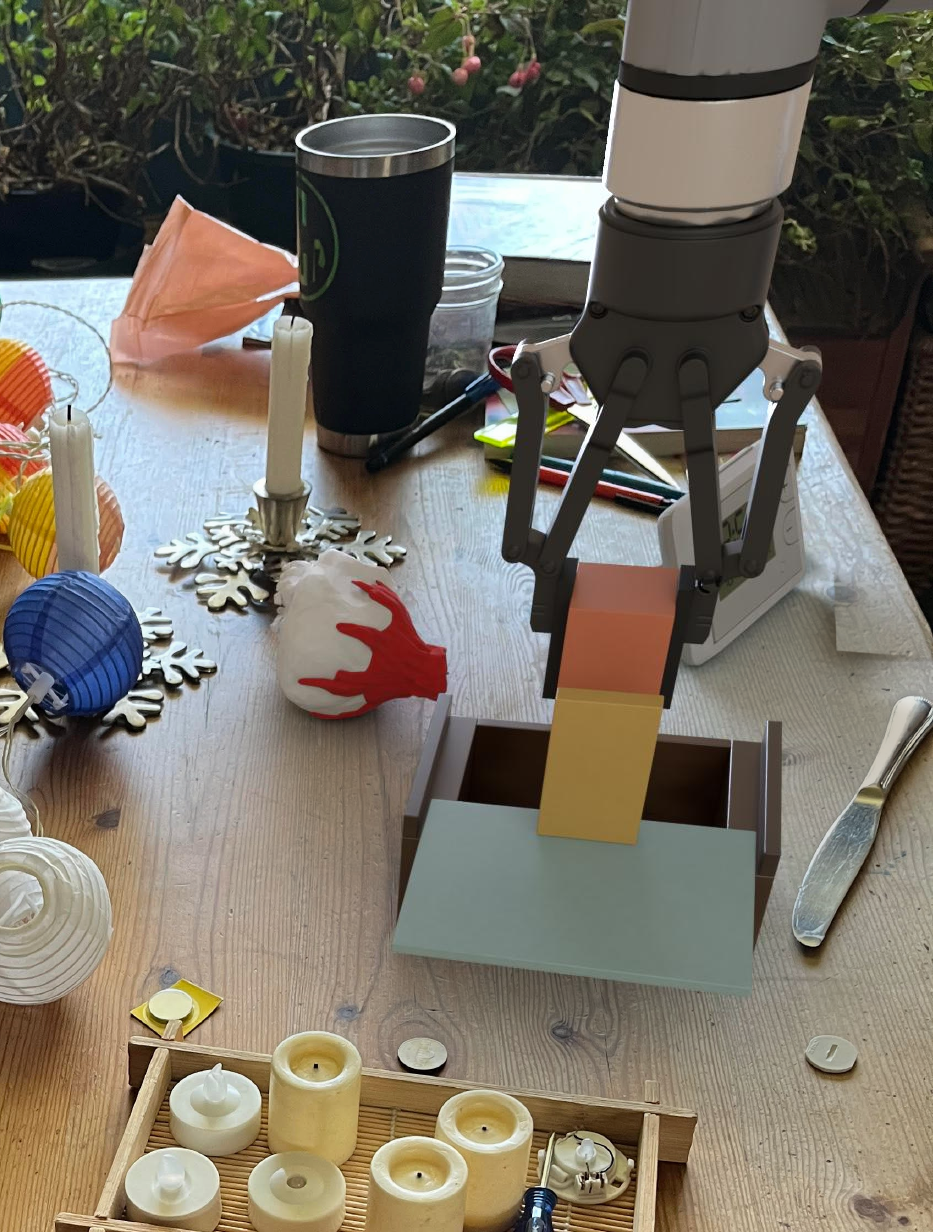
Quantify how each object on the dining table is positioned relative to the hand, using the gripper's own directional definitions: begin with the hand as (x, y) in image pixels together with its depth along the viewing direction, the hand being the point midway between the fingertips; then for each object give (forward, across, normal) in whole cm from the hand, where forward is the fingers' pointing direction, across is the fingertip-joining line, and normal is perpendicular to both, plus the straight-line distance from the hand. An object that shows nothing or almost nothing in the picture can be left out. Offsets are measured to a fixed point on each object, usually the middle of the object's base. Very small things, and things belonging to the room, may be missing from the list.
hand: (607, 689), depth 82 cm
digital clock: (+13, -7, -34) cm, 37 cm away
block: (0, 0, 0) cm, 0 cm away
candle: (+14, +17, -19) cm, 29 cm away
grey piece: (+5, 0, +11) cm, 12 cm away
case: (+13, 0, +1) cm, 13 cm away
